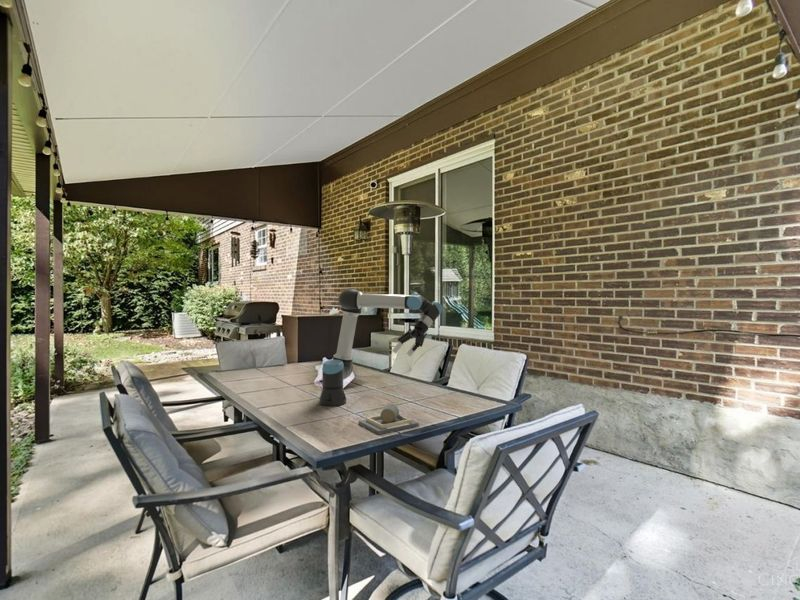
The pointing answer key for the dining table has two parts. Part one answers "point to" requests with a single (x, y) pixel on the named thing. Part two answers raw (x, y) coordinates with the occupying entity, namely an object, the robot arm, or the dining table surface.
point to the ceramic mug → (390, 414)
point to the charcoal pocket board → (386, 424)
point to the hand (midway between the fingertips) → (401, 353)
